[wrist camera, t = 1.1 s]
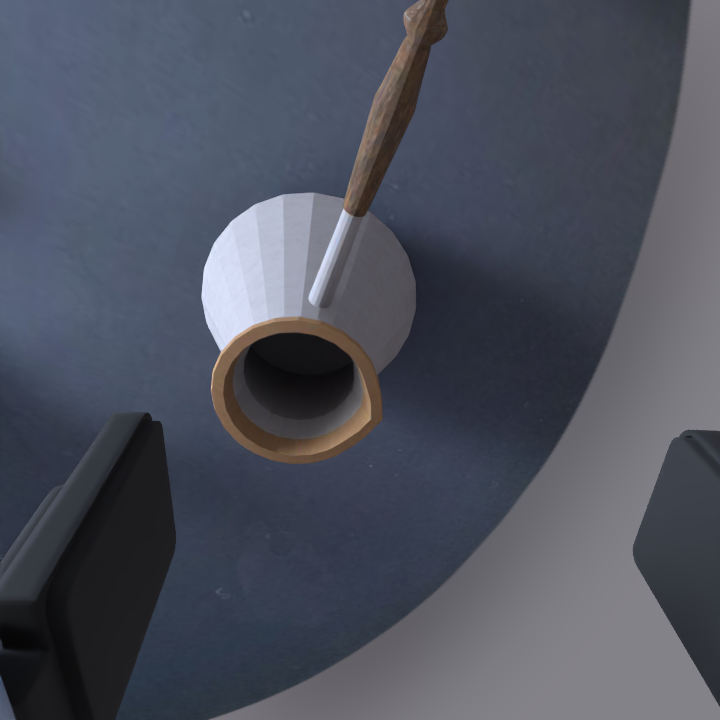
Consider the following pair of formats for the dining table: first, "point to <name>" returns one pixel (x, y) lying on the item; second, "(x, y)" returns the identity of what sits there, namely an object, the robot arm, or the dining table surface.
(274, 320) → the coffee pot
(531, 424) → the dining table surface
